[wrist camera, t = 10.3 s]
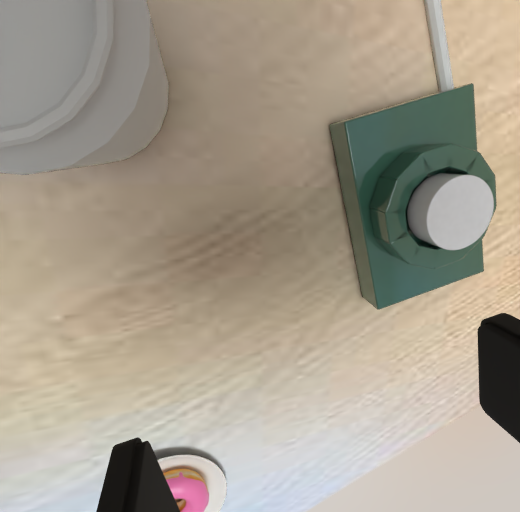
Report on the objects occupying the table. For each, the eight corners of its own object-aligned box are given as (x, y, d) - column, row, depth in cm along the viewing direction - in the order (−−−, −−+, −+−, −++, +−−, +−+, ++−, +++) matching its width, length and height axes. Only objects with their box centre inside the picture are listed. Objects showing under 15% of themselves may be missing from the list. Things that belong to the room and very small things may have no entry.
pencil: (453, 175, 23) (407, -99, 18) (451, 172, 24) (407, -93, 19) (468, 171, 23) (426, -110, 17) (465, 168, 23) (424, -103, 18)
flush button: (402, 184, 19) (422, 188, 17) (466, 163, 19) (492, 165, 18) (411, 251, 20) (430, 260, 18) (471, 230, 21) (495, 237, 19)
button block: (328, 124, 21) (360, 118, 17) (446, 89, 21) (501, 76, 18) (362, 297, 25) (393, 323, 21) (460, 261, 25) (507, 281, 22)
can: (182, 35, 18) (174, -166, 7) (156, 178, 20) (114, 214, 8) (19, -23, 16) (-388, -449, 5) (6, 142, 18) (-314, 123, 6)
